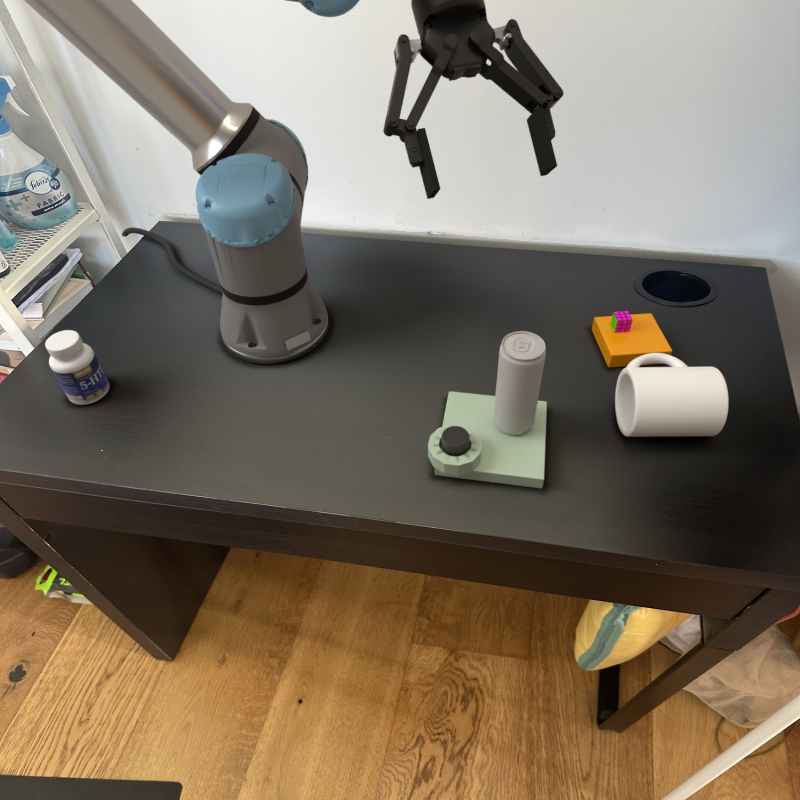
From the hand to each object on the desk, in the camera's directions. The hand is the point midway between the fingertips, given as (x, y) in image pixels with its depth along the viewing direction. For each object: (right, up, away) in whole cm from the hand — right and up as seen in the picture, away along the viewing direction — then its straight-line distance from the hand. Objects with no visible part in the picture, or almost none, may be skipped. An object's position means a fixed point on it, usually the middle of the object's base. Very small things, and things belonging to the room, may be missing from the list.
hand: (492, 182), depth 68 cm
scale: (+1, -29, +6) cm, 29 cm away
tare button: (-4, -29, +2) cm, 29 cm away
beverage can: (+3, -26, +6) cm, 27 cm away
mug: (+21, -25, +9) cm, 34 cm away
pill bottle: (-51, -23, +15) cm, 58 cm away
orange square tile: (+21, -16, +17) cm, 32 cm away
